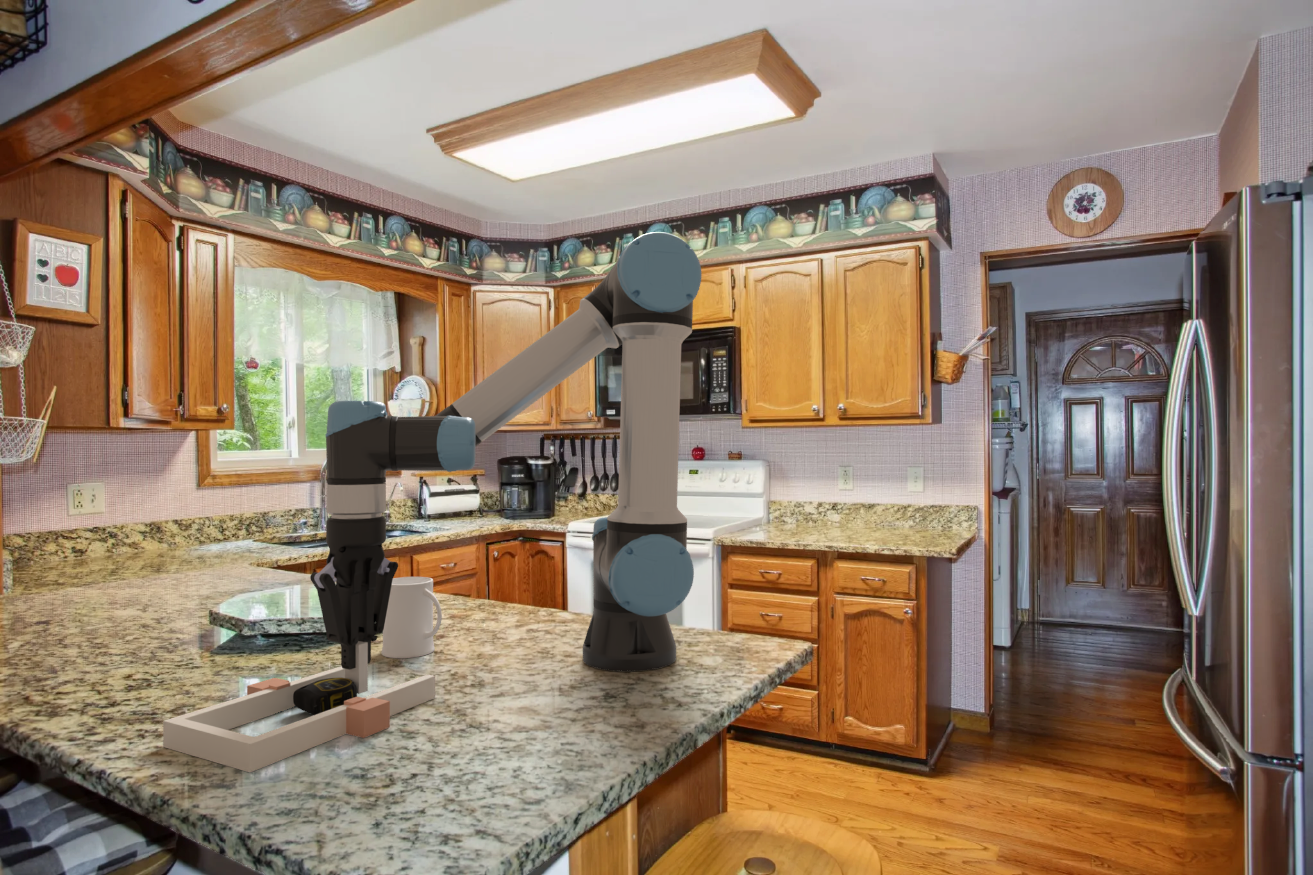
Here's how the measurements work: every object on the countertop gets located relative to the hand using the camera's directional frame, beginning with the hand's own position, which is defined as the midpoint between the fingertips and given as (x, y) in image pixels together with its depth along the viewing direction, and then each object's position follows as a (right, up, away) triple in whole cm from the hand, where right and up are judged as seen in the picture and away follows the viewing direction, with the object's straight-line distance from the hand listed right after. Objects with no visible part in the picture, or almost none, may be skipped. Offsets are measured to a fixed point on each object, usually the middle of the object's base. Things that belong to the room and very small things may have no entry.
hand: (356, 690), depth 105 cm
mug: (0, -2, +25) cm, 26 cm away
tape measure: (-3, -2, -4) cm, 5 cm away
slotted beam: (-3, -2, -6) cm, 7 cm away
